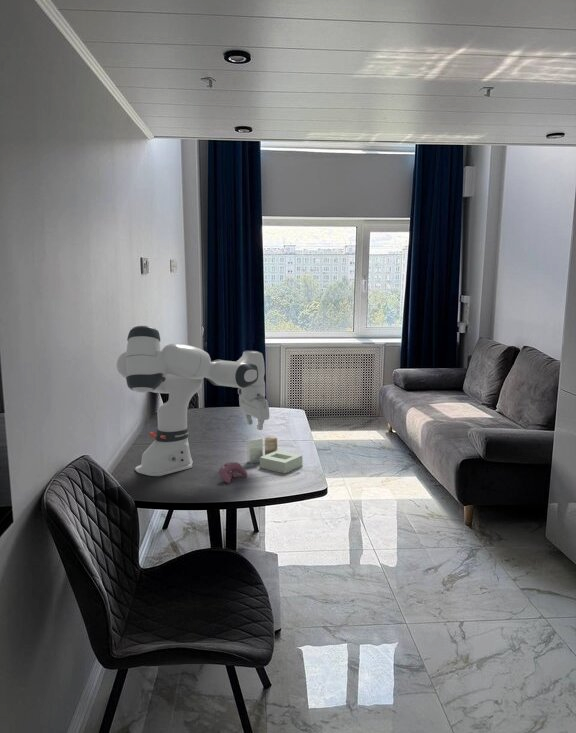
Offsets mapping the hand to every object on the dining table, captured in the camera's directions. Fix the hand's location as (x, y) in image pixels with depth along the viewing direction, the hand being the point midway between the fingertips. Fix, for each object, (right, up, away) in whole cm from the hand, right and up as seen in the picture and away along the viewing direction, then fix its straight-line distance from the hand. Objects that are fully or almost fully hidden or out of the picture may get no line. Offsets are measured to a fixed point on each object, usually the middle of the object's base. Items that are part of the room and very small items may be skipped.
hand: (254, 426), depth 230 cm
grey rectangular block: (0, -14, +2) cm, 14 cm away
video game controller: (-7, -17, -18) cm, 26 cm away
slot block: (+10, -15, -5) cm, 19 cm away
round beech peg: (+6, -13, +6) cm, 16 cm away
